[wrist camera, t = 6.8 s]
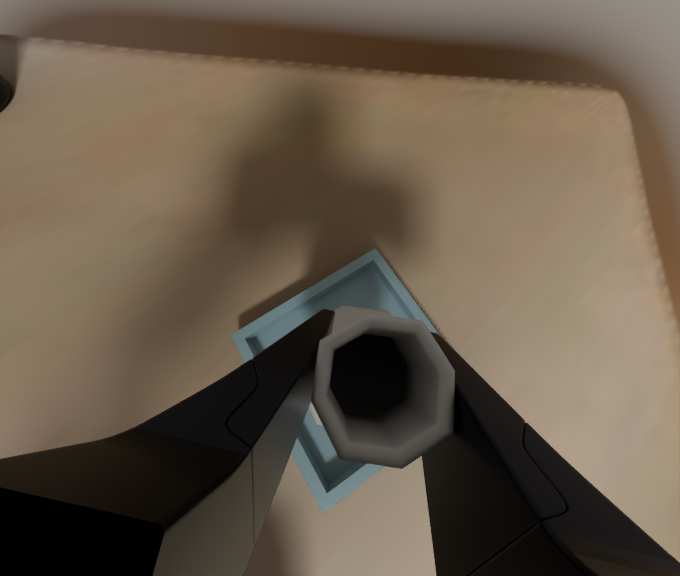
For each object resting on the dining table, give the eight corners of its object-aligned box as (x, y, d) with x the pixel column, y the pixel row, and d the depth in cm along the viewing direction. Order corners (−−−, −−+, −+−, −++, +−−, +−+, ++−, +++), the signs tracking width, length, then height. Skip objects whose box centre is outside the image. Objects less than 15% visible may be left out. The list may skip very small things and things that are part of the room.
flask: (398, 295, 16) (489, 209, 7) (429, 417, 14) (616, 549, 5) (285, 316, 16) (203, 258, 6) (303, 444, 14) (227, 647, 4)
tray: (469, 389, 20) (481, 392, 19) (324, 498, 18) (322, 513, 17) (373, 255, 23) (375, 247, 22) (239, 337, 21) (230, 335, 20)
